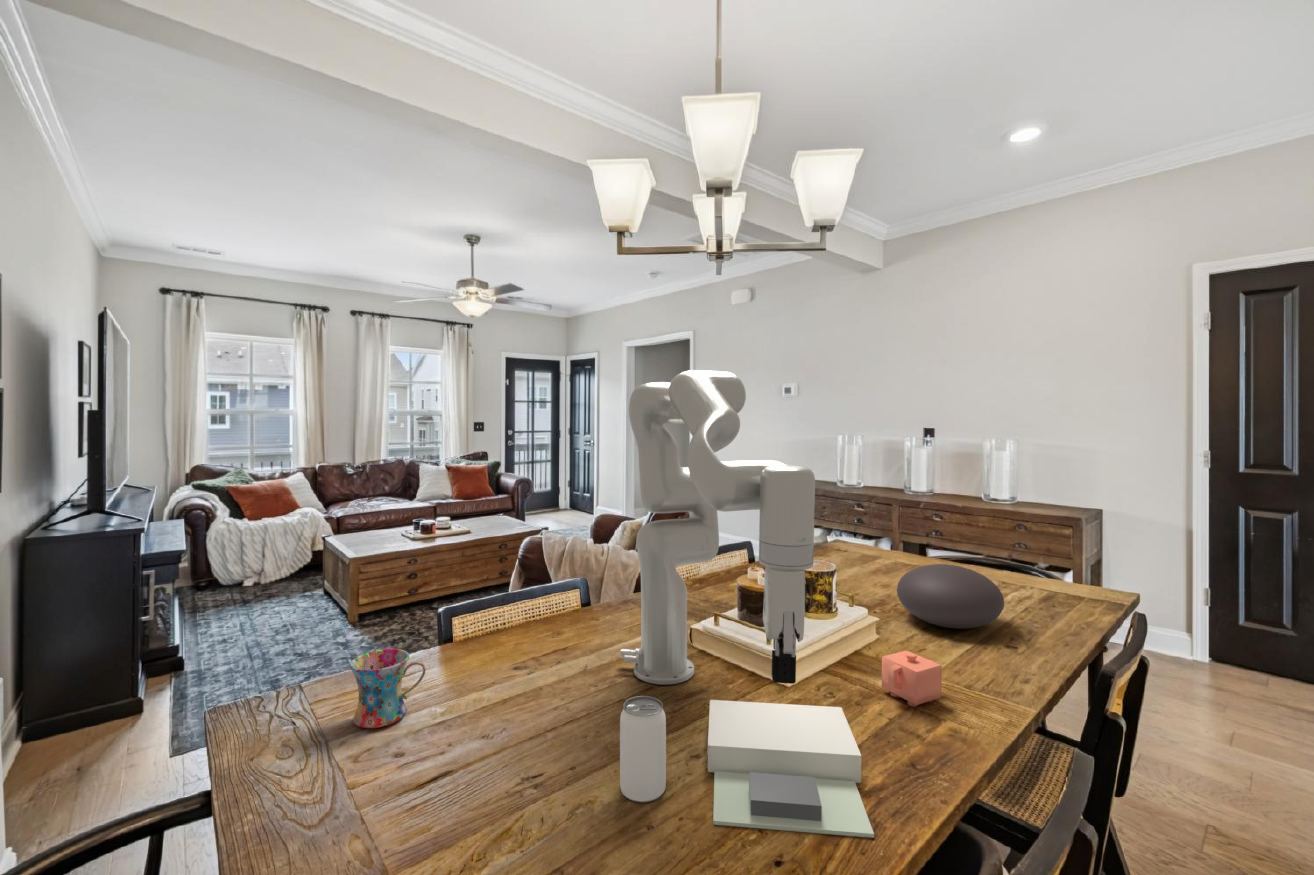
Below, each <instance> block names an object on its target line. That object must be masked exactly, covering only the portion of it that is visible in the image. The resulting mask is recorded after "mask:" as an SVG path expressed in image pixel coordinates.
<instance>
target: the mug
mask: <svg viewBox="0 0 1314 875" xmlns="http://www.w3.org/2000/svg"><path fill="white" fill-rule="evenodd" d="M409 659H410V654H409V652H408V651H406V650H403V649H400V648H384V649H382V648H381V649H377V650H372V651H369V652H366V653H363V654H361V655H358V656H357V657H355V658H354V659H352V661H351V662H350V664H349V668H350V669H351V671H352V673H353V676H354V678H355V681H356V684H357V688H358V689H357V690H358V702H357V703H358V704H357V708H356V712H355V714H354V715H353V718H352V719H353V723H354V725H356V726H357V727H359V728H363V729H377V728H382V727H385V726H389V725H391V724H394V723H395V722H397V721H399V720H401V719H402V718H403V717H404V716H405V715H406V714H407V711H408V707H407V704H406V702H405V700H407V699H408V696H407V694H408V693H410V692H412V690H414V689H415V688H417V686H418V685H419V684H420V683H421V681H422V680H423V678H424V676H425V675H426V670H427V669H426V665H425V664H424V663H423V662H421V661H413V662H410V663H409V664H408V665H407V663H408V660H409ZM416 665H419V666H421V667H422V674H421V676H420V677H419V679H418V680H417V682H415V684H413V685H412V686H410V687H409V688H407V689H406V690H405V691H403V689H402V685H403V684H402V682H403V677H405V676H406V673H407V671H408V669H409V668H410V667H412V666H416Z"/></svg>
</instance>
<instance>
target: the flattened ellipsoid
mask: <svg viewBox="0 0 1314 875" xmlns="http://www.w3.org/2000/svg"><path fill="white" fill-rule="evenodd" d="M896 593H897V597H898V600H899V601H900V603H901V605H902V606H903V607H904V608H905V610H907V611H908V613H910V614H912V615H913V616H914V617H916V618H918V619H920V620H922V621H924V622H926V623H928V624H931V625H935V626H938V627H942V628H948V629H957V630H961V629H962V630H965V629H968V630H969V629H975V628H979V627H982V626H985V625H988V624H990V623H993V621H995V620H997V618H999V616H1001V614H1002V612H1003V610H1004V609H1005V608H1004V607H1005V601H1004V596H1003V593H1002V591H1001V589H1000V587H998V586H997V585H996V583H994V581H993V580H991V579H989V578H988V577H987V576H986V575H983V574H981V572H977V571H975V570H973V569H970V568H967V567H964V566H959V565H954V564H947V563H946V564H944V563H936V564H935V563H934V564H926V565H922V566H918V567H916V568H913V569H910V570H909V571H907V572H906V573H905V574H904V575H902V576H901V578H900V580H899V581H898V583H897V587H896Z"/></svg>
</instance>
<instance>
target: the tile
mask: <svg viewBox="0 0 1314 875" xmlns="http://www.w3.org/2000/svg"><path fill="white" fill-rule="evenodd" d="M749 793H750V811H751V815H755V816H767V817H778V818H790V819H801V820H813V821H821V819H822V806H821V801H820V797H819V793H818V789H817V785H816V781H815V777H806V776H793V775H780V774H767V773H754V772H749Z"/></svg>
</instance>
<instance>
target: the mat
mask: <svg viewBox="0 0 1314 875" xmlns="http://www.w3.org/2000/svg"><path fill="white" fill-rule="evenodd" d="M713 773H714V779H713V782H714V783H713V810H712V811H713V813H712V815H713V817H712V819H713V820H712V824H713V825H714V826H715V825H716V826H726V827H728V826H729V827H737V828H739V827H740V828H750V829H762V830H764V829H765V830H775V831H786V832H787V831H788V832H799V833H812V834H822V835H823V834H824V835H835V836H848V837H859V838H872V839H874V838H875V832H874V830H873V827H872V825H871V822H870V818H869V817H868V814H867V810H866V808H865V805H864V802H863V801H862V800H863V799H862V797H861V794H860V791H859V790H858V787H857V783H855V781H844V780H830V779H816V778H815V781H816V785H817V789H818V793H819V797H820V801H821V806H822V819H821V821H813V820H801V819H790V818H778V817H767V816H755V815H751V811H750V793H749V774H747V773H733V772H719V771H714V772H713Z"/></svg>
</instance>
